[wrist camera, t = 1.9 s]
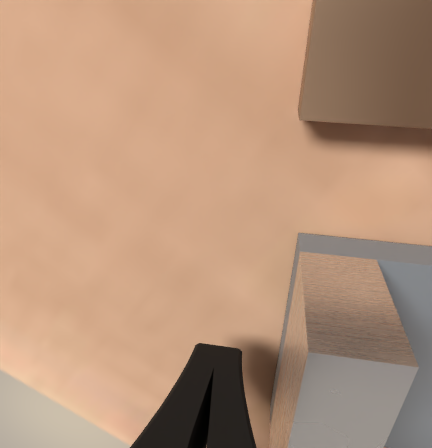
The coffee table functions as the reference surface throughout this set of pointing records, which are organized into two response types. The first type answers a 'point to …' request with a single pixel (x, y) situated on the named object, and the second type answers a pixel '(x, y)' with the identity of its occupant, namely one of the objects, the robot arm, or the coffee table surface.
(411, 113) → the broken strip
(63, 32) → the coffee table surface
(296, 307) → the grey tray
